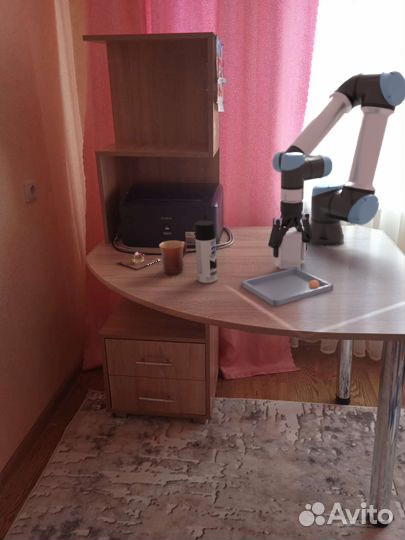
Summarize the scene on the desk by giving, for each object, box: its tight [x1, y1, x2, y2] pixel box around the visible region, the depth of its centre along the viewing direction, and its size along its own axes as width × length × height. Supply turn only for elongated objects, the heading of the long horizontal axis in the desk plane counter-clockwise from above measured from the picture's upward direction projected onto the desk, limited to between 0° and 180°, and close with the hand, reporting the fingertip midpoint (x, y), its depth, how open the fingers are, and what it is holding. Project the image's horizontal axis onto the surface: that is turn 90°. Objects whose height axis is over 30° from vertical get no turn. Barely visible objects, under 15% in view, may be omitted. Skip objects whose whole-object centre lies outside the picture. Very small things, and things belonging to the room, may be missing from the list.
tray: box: [240, 267, 334, 307], centre depth 148 cm, size 22×18×2 cm
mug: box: [158, 240, 188, 276], centre depth 166 cm, size 12×9×10 cm
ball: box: [309, 280, 319, 289], centre depth 145 cm, size 3×3×3 cm
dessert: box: [132, 251, 161, 266], centre depth 177 cm, size 12×12×5 cm
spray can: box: [194, 220, 218, 284], centre depth 155 cm, size 7×7×20 cm
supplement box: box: [278, 229, 302, 270], centre depth 164 cm, size 7×7×13 cm
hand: (290, 262), depth 166 cm, fingers closed on supplement box, 10 cm apart
